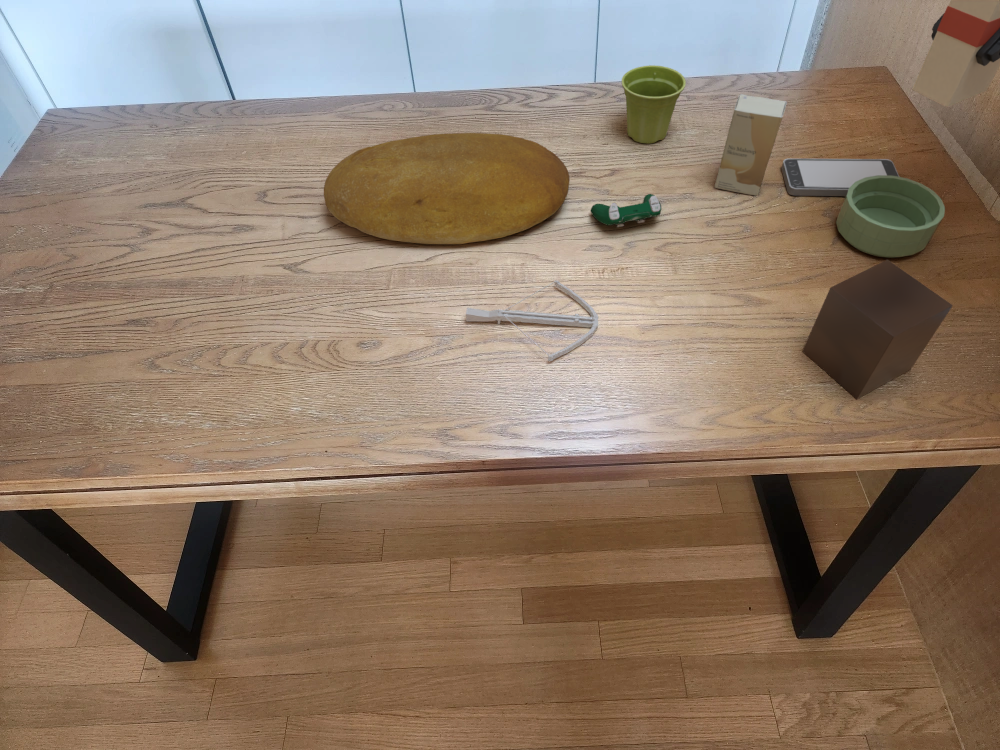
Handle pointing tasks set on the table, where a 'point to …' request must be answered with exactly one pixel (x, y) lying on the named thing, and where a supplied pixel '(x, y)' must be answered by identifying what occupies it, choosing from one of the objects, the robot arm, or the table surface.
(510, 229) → the bread
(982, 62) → the robot arm
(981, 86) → the snack carton
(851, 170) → the smartphone
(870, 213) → the bowl
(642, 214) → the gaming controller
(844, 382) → the block
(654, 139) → the plant pot
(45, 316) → the table surface
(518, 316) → the crossbow
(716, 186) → the cosmetic box
